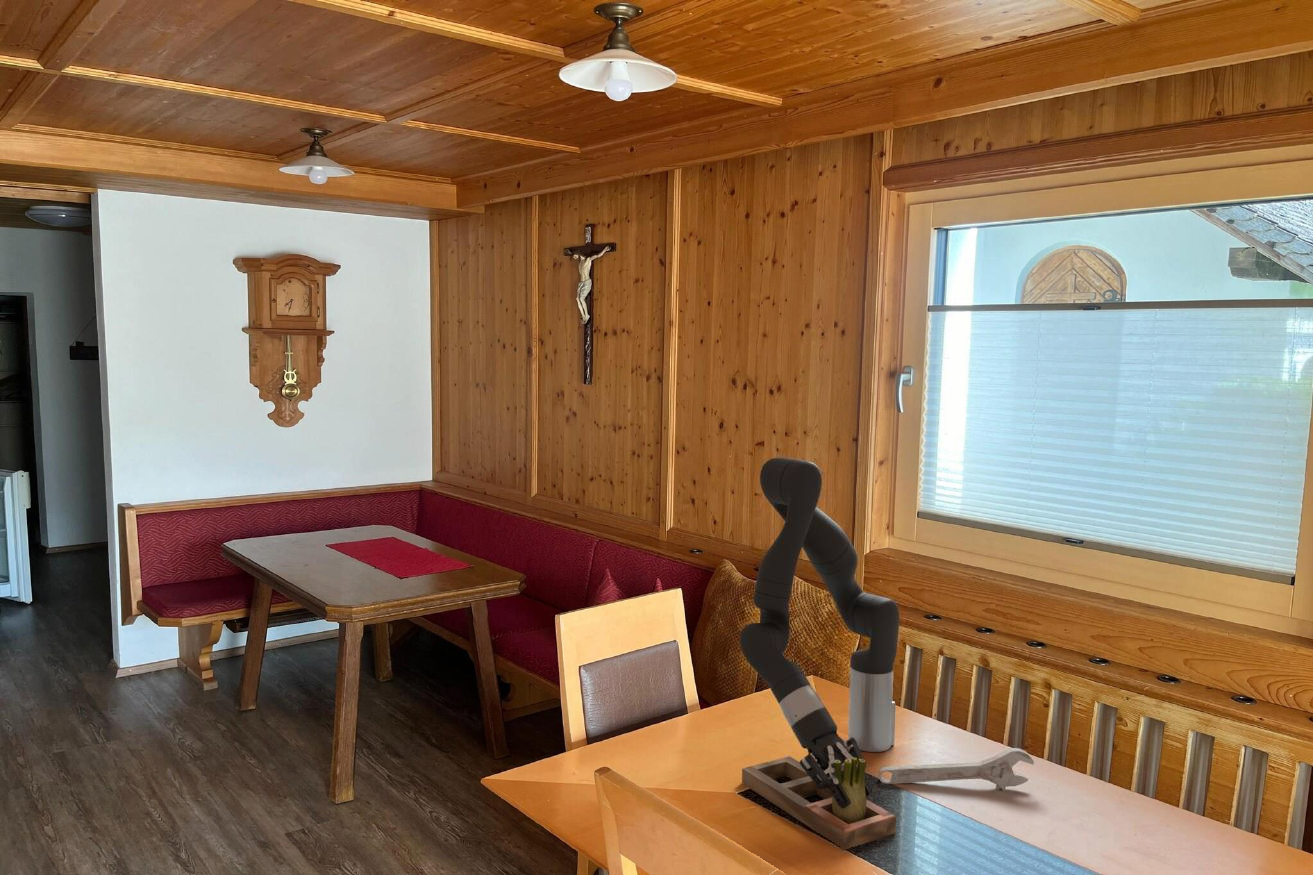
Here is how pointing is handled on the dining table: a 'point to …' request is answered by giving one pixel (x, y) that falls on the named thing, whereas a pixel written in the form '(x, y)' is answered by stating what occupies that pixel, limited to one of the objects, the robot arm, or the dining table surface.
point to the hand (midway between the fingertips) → (857, 800)
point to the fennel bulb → (851, 790)
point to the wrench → (965, 770)
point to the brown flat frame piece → (815, 803)
